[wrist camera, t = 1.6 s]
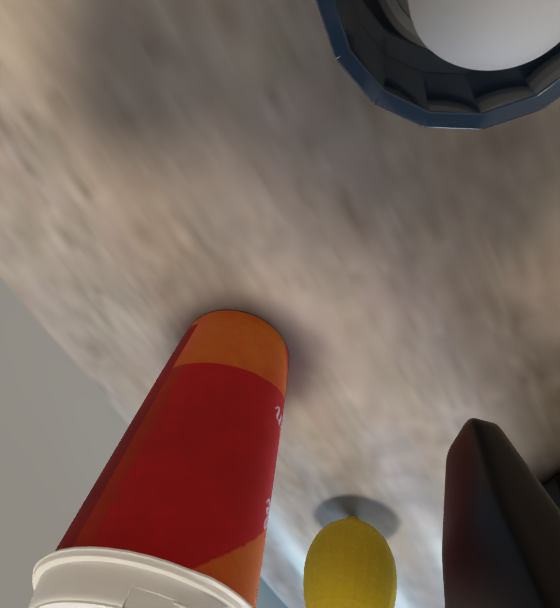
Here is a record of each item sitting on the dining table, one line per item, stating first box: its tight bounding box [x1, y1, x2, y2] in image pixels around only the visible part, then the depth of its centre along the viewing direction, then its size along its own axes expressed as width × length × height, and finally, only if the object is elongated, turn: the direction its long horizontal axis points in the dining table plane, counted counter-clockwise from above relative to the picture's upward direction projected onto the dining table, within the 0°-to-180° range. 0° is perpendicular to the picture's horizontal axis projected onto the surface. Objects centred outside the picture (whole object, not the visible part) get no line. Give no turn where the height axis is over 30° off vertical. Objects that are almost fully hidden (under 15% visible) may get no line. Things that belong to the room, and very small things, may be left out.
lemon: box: [304, 516, 397, 608], centre depth 31 cm, size 6×6×8 cm
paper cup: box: [29, 310, 289, 608], centre depth 21 cm, size 8×8×14 cm
